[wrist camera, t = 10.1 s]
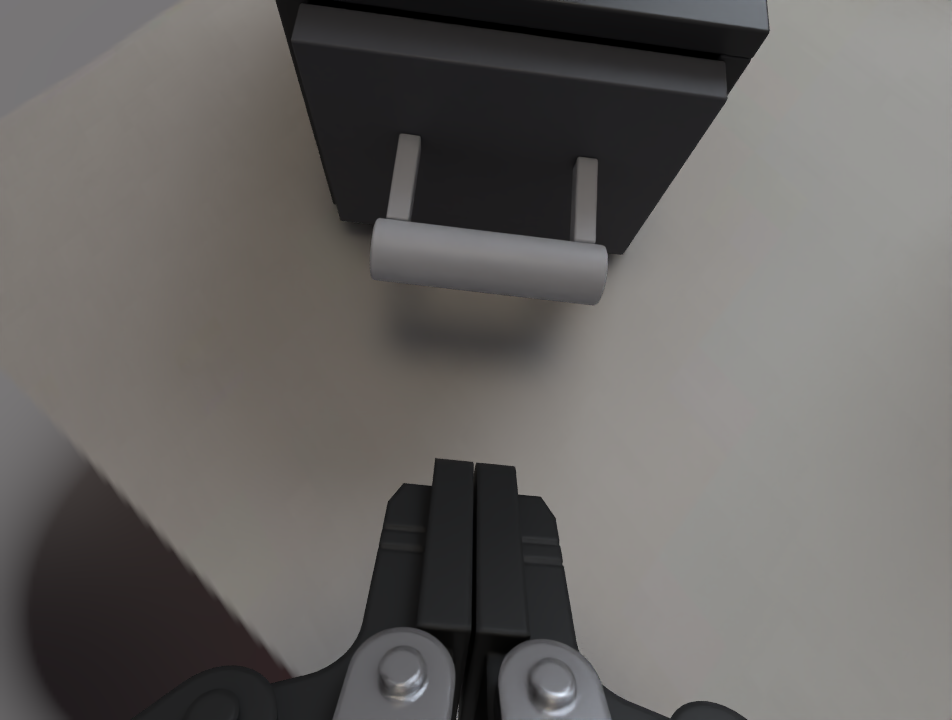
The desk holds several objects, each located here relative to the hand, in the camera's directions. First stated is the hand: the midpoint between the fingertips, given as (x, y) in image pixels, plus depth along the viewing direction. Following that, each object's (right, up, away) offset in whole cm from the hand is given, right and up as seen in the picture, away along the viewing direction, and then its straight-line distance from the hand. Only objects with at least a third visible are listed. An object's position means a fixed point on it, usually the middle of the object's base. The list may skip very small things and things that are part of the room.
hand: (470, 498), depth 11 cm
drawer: (+1, +11, +11) cm, 16 cm away
